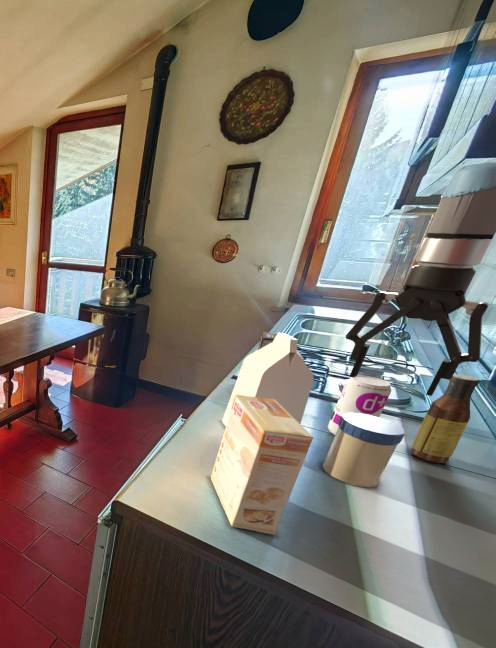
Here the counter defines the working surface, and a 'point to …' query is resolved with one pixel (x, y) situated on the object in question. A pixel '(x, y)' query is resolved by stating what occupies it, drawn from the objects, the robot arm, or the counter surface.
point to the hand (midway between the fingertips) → (389, 384)
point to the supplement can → (360, 398)
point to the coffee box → (266, 339)
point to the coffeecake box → (258, 463)
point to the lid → (371, 428)
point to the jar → (357, 460)
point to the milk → (275, 377)
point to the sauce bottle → (445, 421)
